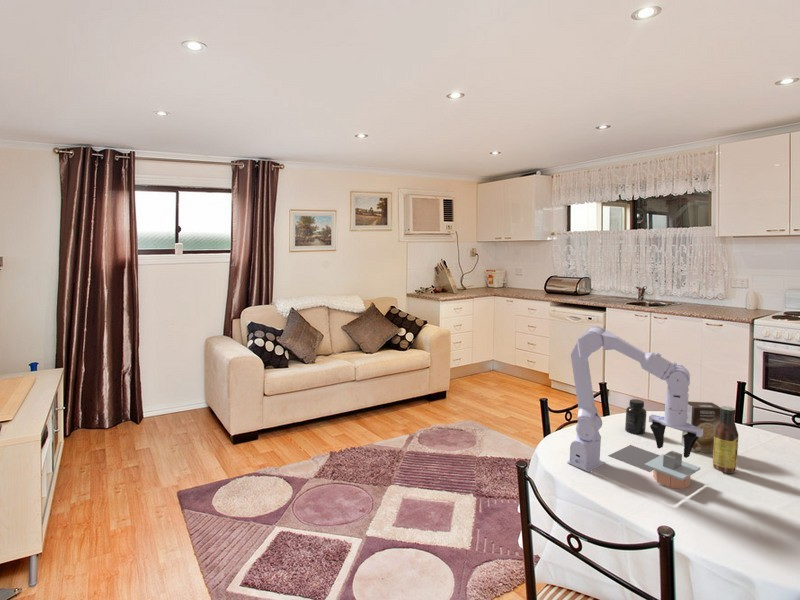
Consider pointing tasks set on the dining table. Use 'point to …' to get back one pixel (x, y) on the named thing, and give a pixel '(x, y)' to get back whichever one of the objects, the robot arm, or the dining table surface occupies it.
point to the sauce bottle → (726, 441)
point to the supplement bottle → (636, 417)
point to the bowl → (670, 480)
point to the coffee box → (703, 424)
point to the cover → (672, 465)
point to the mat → (634, 456)
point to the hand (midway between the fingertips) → (673, 451)
